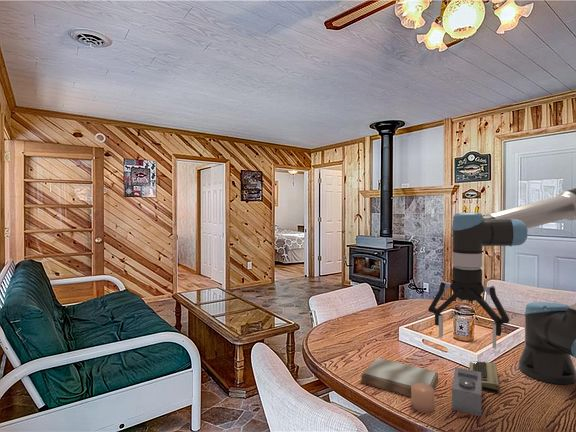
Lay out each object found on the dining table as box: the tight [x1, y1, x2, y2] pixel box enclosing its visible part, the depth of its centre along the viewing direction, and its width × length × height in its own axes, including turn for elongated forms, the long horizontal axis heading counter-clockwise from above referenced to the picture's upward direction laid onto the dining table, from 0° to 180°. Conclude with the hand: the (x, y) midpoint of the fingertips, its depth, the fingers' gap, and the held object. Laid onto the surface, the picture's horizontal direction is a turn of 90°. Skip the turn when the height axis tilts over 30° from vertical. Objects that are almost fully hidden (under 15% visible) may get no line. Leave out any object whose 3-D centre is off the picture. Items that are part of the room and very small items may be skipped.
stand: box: [360, 357, 439, 398], centre depth 109 cm, size 20×14×3 cm
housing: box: [451, 366, 482, 417], centre depth 99 cm, size 14×7×7 cm, turn 151°
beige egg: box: [410, 383, 435, 414], centre depth 96 cm, size 6×6×5 cm
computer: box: [468, 361, 501, 395], centre depth 110 cm, size 16×8×3 cm, turn 152°
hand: (466, 341), depth 98 cm, fingers open, 13 cm apart
